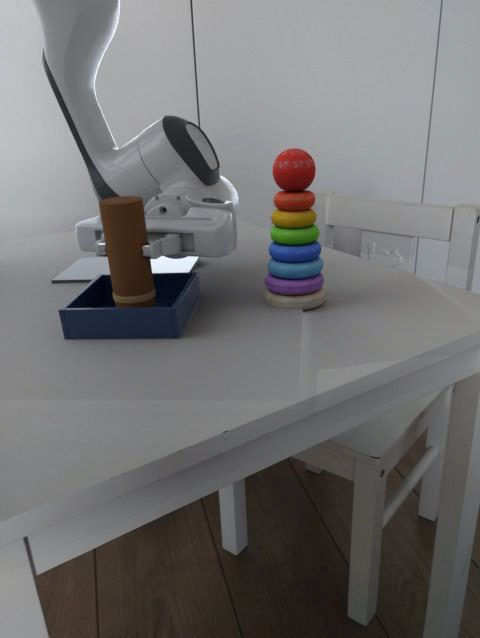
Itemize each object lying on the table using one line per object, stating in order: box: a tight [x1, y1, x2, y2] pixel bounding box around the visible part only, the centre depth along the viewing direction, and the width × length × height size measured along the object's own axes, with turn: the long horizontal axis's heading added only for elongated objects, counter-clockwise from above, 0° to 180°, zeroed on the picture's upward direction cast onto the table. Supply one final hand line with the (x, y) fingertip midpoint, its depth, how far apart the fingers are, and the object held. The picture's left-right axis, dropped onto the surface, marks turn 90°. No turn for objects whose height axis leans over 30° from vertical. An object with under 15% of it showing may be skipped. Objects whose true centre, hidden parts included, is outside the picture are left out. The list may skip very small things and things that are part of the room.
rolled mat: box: [98, 196, 157, 308], centre depth 66 cm, size 5×5×14 cm
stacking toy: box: [263, 147, 327, 311], centre depth 69 cm, size 8×8×19 cm
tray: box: [58, 271, 202, 341], centre depth 69 cm, size 13×13×4 cm
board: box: [50, 256, 202, 284], centre depth 88 cm, size 20×12×1 cm, turn 85°
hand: (124, 251), depth 65 cm, fingers closed on rolled mat, 5 cm apart
